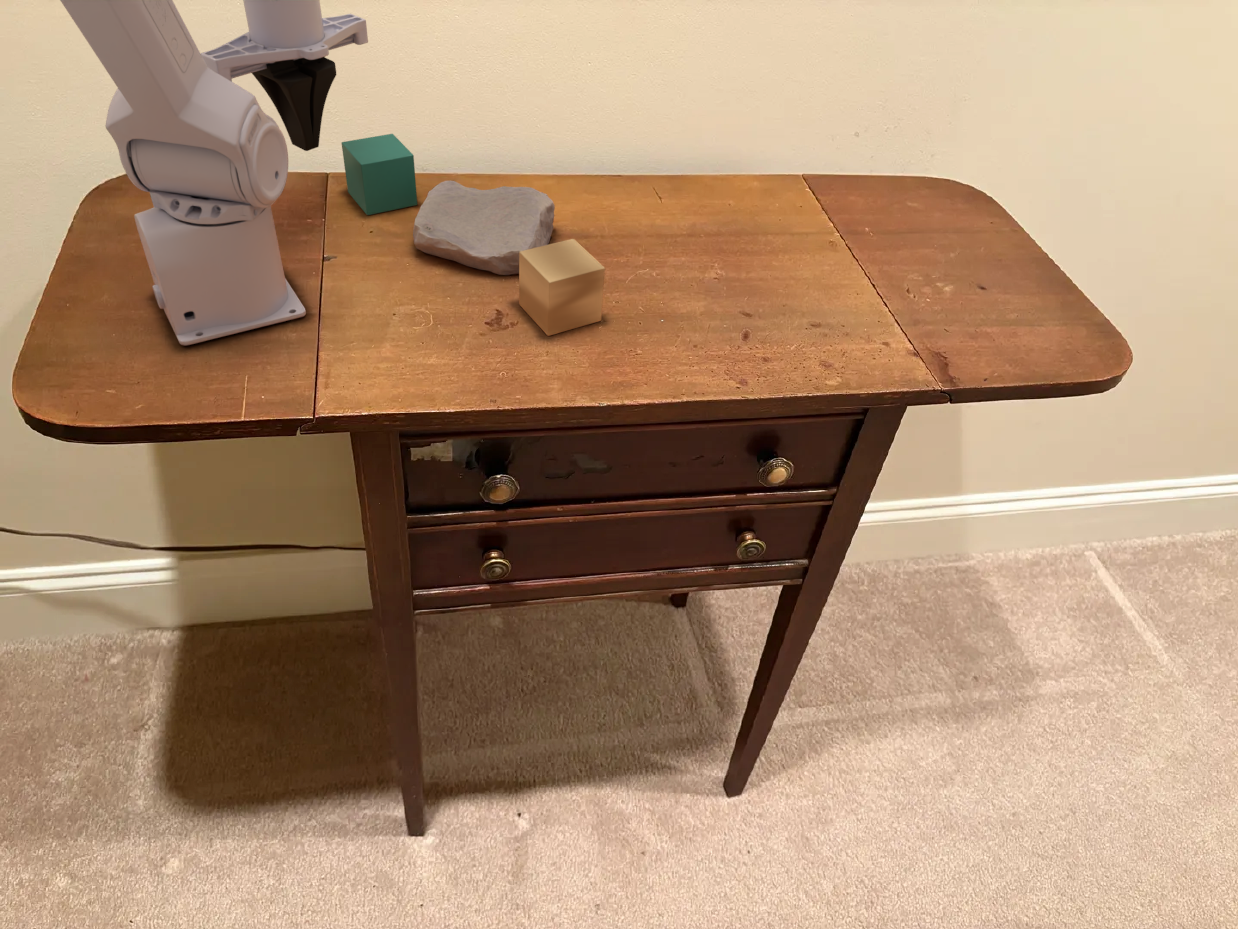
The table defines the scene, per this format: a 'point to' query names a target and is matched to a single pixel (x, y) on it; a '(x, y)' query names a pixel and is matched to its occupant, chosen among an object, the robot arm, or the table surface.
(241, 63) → the robot arm
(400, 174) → the teal block
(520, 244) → the stone block
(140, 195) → the table surface
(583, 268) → the maple block
